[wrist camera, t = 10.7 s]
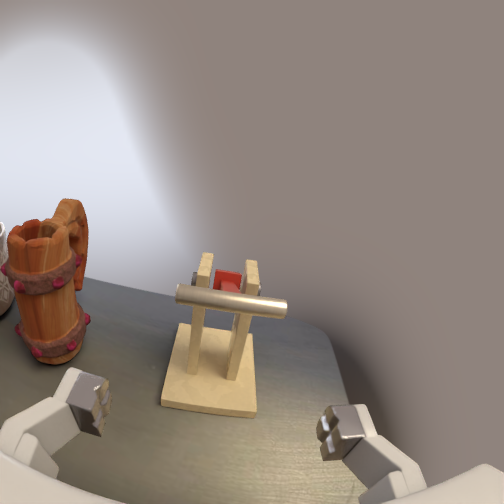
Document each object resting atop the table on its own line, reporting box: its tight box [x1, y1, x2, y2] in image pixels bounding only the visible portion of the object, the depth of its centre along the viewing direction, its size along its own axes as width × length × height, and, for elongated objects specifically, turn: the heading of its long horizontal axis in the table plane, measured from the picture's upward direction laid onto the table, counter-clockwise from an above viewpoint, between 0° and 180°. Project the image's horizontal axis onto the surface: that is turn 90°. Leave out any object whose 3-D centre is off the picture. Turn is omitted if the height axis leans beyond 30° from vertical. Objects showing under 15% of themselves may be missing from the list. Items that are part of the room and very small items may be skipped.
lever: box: [175, 269, 287, 319], centre depth 21 cm, size 12×6×2 cm, turn 2°
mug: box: [1, 198, 91, 365], centre depth 26 cm, size 15×8×15 cm, turn 4°
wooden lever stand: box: [161, 253, 261, 418], centre depth 27 cm, size 12×9×13 cm
